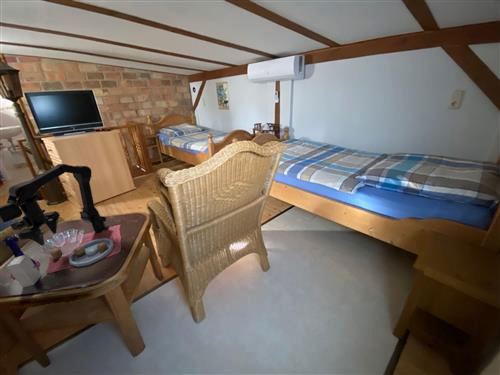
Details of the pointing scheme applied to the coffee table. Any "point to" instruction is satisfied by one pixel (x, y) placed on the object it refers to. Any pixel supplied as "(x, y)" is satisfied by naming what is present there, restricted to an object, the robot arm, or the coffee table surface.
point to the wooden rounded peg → (102, 247)
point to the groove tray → (91, 253)
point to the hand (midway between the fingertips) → (49, 239)
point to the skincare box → (24, 270)
